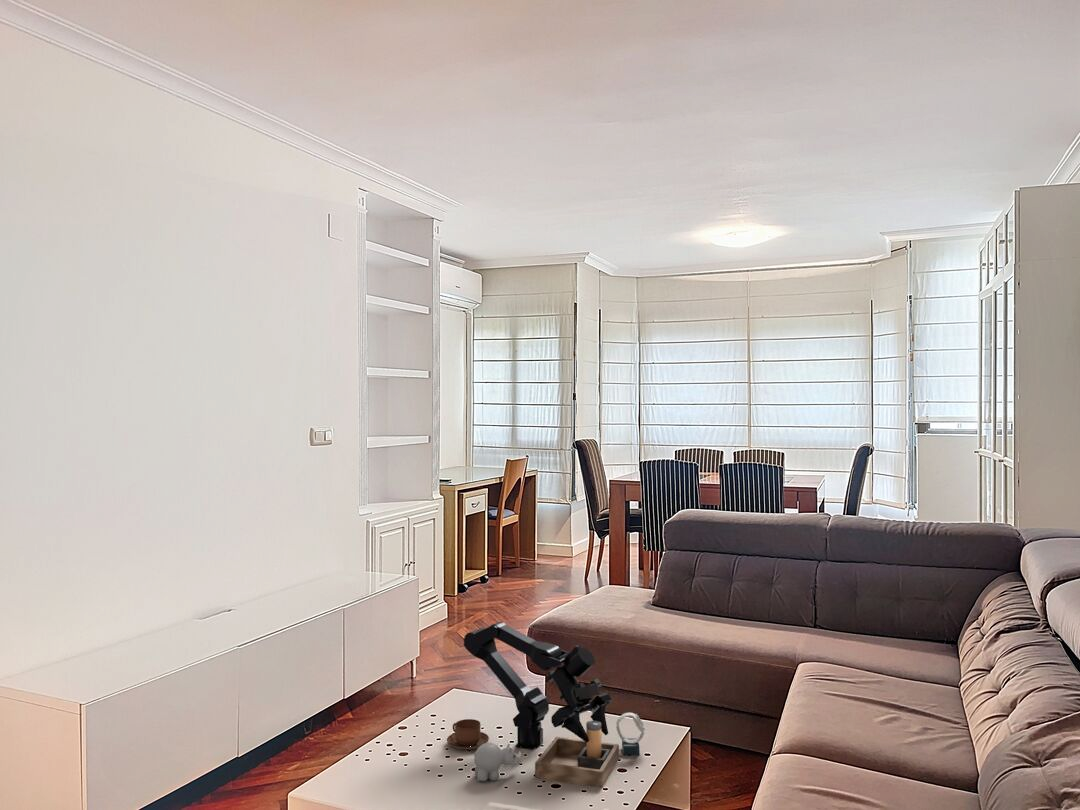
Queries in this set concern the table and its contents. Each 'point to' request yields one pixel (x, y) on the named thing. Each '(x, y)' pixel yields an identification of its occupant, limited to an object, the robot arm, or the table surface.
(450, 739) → the cup and saucer
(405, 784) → the table surface
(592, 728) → the grey-capped orange cylinder
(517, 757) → the chubby cartoon animal
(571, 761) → the walled box
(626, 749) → the watch
